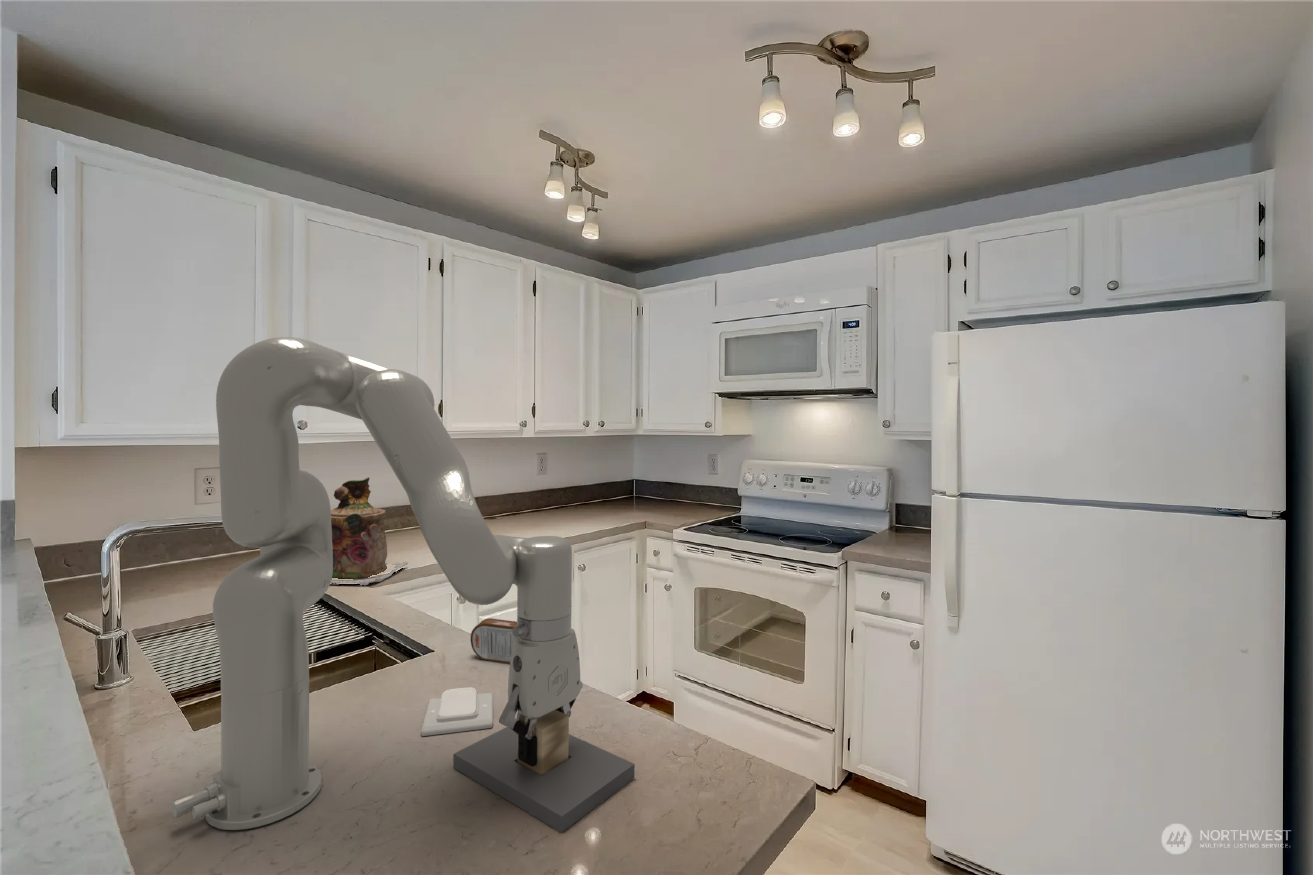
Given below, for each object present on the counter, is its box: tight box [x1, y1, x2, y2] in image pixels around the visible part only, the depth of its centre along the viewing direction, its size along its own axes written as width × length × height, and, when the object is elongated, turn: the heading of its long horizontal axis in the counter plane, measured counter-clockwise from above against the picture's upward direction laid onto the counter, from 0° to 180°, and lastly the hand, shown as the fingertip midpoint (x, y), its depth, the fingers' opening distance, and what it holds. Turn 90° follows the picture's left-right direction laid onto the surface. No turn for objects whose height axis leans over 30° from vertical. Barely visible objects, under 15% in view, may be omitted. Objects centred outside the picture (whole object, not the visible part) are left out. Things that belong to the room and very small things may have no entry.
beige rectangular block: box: [518, 710, 570, 776], centre depth 83 cm, size 5×5×8 cm
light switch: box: [420, 686, 494, 737], centre depth 99 cm, size 11×4×13 cm
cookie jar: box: [331, 476, 409, 587], centre depth 188 cm, size 25×25×32 cm
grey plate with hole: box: [452, 726, 636, 834], centre depth 83 cm, size 14×22×2 cm, turn 53°
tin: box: [470, 617, 517, 665], centre depth 122 cm, size 15×3×8 cm, turn 74°
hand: (543, 752), depth 83 cm, fingers closed on beige rectangular block, 5 cm apart
